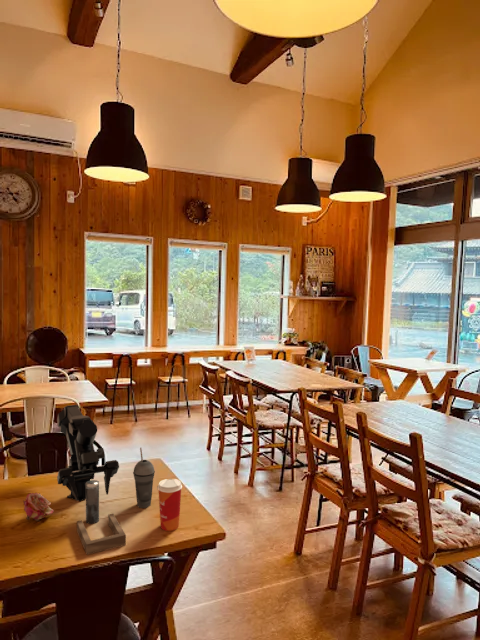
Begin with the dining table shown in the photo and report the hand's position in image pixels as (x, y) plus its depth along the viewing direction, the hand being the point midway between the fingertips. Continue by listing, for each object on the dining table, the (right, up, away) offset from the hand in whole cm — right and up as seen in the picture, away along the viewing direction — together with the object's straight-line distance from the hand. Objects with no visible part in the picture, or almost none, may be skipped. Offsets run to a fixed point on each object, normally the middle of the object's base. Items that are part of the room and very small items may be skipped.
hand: (92, 497), depth 150 cm
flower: (-18, -8, +2) cm, 20 cm away
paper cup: (+25, -9, -2) cm, 26 cm away
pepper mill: (0, -8, +1) cm, 8 cm away
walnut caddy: (+5, -9, -8) cm, 13 cm away
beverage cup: (+14, -8, +13) cm, 20 cm away
